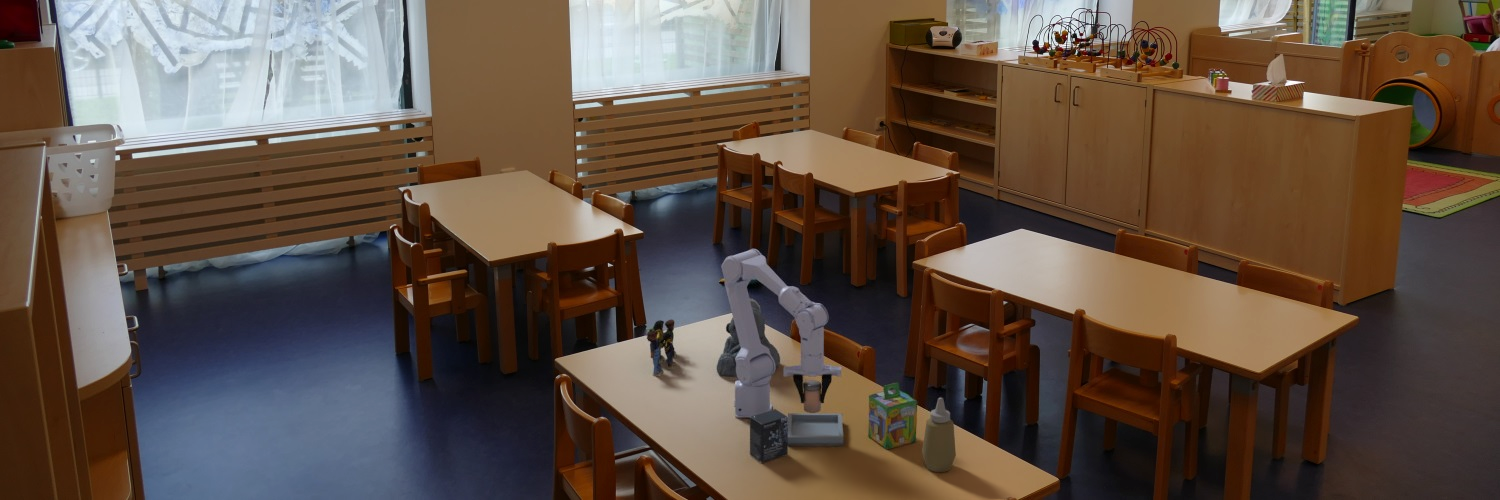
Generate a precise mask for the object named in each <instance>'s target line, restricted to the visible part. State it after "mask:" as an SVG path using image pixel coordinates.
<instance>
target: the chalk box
mask: <svg viewBox="0 0 1500 500" xmlns="http://www.w3.org/2000/svg"><path fill="white" fill-rule="evenodd" d="M917 416H918V401H917V399H914V398H913V397H912V396H910V395H909V394H908V393H906V392H903V391H901V389H900V385H899V382H893V383H890V384H885V385H883V391H880V392H877V393H873V394H869V395H868V432H867V433H868V437H869V439H870V438H871V439H872V440H873V441H875V442H876V443H878V444H879V445H880V446H882V447H884V448H885V449H886V450H889V449H895V448H898V447H902V446H905V445H909V444H912V443H916V442H917V441H916V440H917V420H918V419H917Z"/></svg>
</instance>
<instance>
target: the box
mask: <svg viewBox="0 0 1500 500" xmlns="http://www.w3.org/2000/svg"><path fill="white" fill-rule="evenodd" d="M788 449H789V446H788V415H785V414H784V413H782V412H781V411H779V410H778V409H776V408H774V409H772V410H771V411H768V412H765V413H761V414H758V415H754V416H750V418H749V455H750V456H752V457H753V458H754V459H755V460H757V461H758V462H759V463H762V464H763V463H765V462H768V461H771V460H775V459H777V458H778V459H779V458H781V457H784V456H788V454H789V453H788V451H789V450H788Z"/></svg>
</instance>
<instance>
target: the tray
mask: <svg viewBox="0 0 1500 500" xmlns="http://www.w3.org/2000/svg"><path fill="white" fill-rule="evenodd" d="M842 416H843V415H842V412H841V413H840V412H839V413H833V412H832V413H831V412H830V413H825V412H824V413H823V412H822V413H819V412H817V413H808V412H806V413H803V412H801V413H799V412H798V413H797V412H795V413H791V412H790V413H787V417H788V447H843V446H844V429H843V417H842Z"/></svg>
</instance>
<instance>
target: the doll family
mask: <svg viewBox="0 0 1500 500" xmlns="http://www.w3.org/2000/svg"><path fill="white" fill-rule="evenodd" d="M675 323H676V322H675V320H674V319H668V320H666V321H664V320H661V319H659V320H657V321H655V323H654V325H653V326H652V327H651V328H648V327H646V330H648V331H647V333H646V334H645V336H646V340H647V342H649V346H650V347H649V350H650V359H652V364H653V371H652V376H654V377H661V376H662V375H663V374H662V373H663V372H664V369H663V368H662V365H661V363H663V362H664V361H665V363H666V364H667V366H666V367H665V369H666V370H675V369H676V367H675V366H677V365H678V363H677V362H676V361H674V360H673V359H674V358H676V357H678V355H677V352H676V350H675V347H674V336H675V335H674V328H675ZM664 326H665V327H666V328H667V329H666V330H665V331H664V330H663V328H664ZM661 349H664V353H665V355H666V359H665V356H664V355H662V354H661V352H662V350H661ZM664 359H665V360H664Z"/></svg>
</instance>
